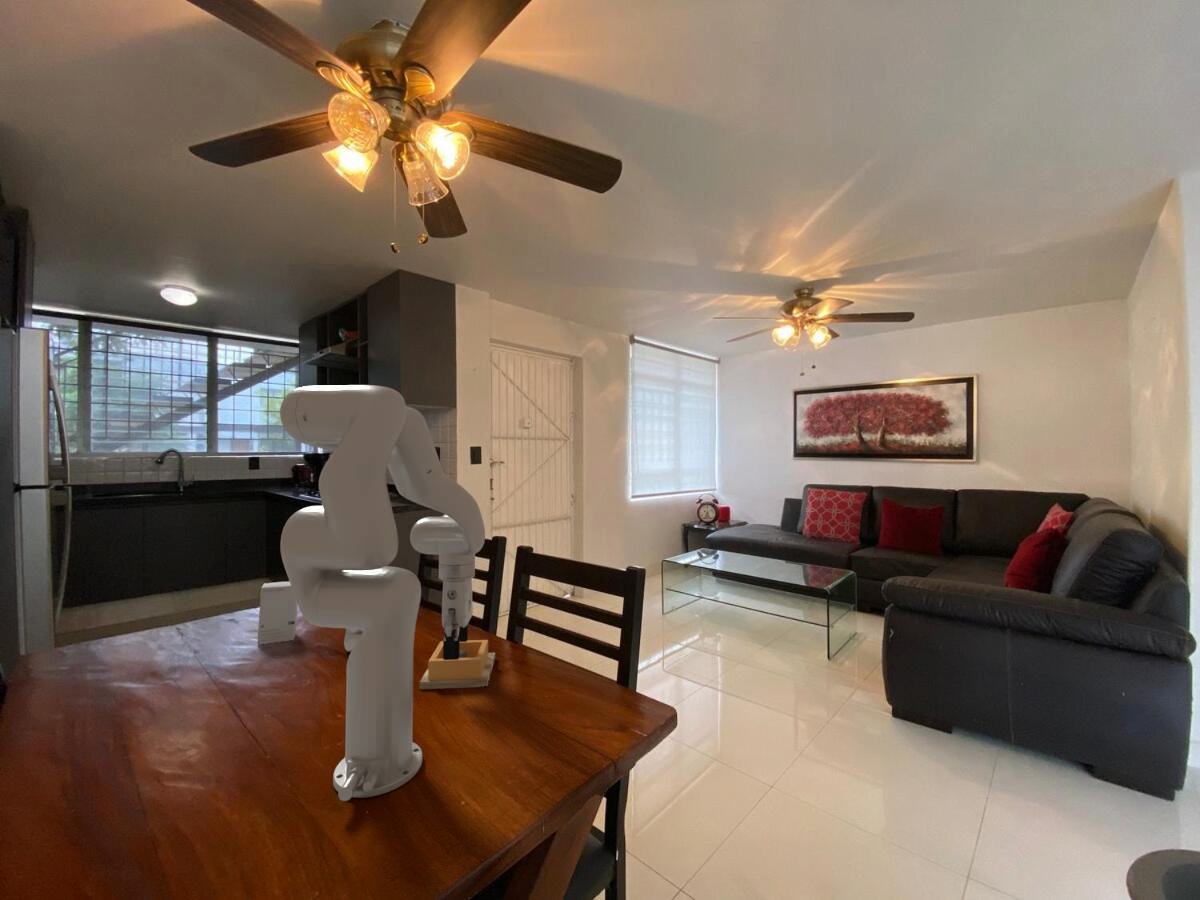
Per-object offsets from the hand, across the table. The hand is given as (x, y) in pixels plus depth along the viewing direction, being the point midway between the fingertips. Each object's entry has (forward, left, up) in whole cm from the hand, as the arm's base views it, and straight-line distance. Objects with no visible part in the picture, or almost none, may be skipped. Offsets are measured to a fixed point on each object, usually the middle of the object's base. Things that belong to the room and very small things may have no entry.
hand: (456, 649), depth 102 cm
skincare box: (+29, +52, -7) cm, 60 cm away
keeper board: (+5, 0, -7) cm, 9 cm away
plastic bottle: (+20, +28, -7) cm, 35 cm away
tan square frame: (+4, 0, -6) cm, 7 cm away
